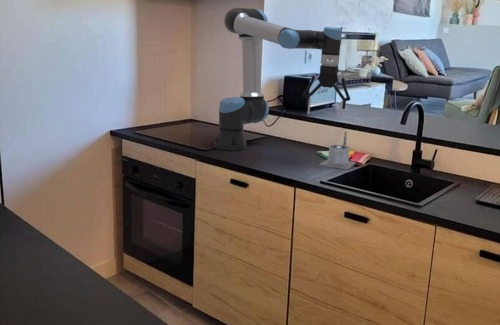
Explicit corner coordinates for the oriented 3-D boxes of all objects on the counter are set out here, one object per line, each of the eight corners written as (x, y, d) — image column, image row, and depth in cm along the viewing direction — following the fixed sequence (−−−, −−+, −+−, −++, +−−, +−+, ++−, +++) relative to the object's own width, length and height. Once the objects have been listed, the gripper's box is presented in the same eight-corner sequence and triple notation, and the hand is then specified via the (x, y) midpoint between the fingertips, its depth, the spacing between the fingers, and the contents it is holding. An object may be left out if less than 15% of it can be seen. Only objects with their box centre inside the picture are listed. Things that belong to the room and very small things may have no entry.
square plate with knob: (319, 165, 223) (321, 149, 221) (329, 159, 233) (330, 145, 232) (346, 169, 218) (348, 153, 216) (355, 163, 228) (356, 148, 226)
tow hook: (333, 155, 244) (333, 159, 235) (336, 128, 241) (336, 130, 232) (351, 157, 243) (352, 160, 234) (354, 129, 240) (355, 132, 231)
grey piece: (328, 159, 230) (329, 144, 228) (347, 161, 229) (348, 145, 227) (328, 166, 219) (329, 149, 218) (348, 167, 218) (350, 151, 217)
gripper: (299, 63, 216) (295, 114, 222) (360, 68, 214) (354, 119, 219) (299, 62, 223) (295, 111, 229) (358, 66, 221) (353, 116, 226)
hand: (324, 115), depth 224 cm, fingers open, 13 cm apart
